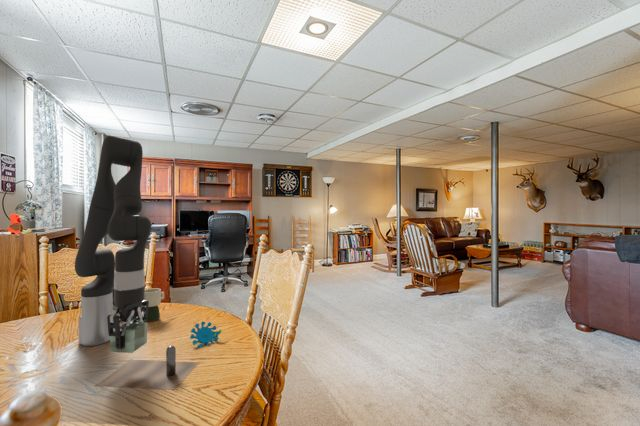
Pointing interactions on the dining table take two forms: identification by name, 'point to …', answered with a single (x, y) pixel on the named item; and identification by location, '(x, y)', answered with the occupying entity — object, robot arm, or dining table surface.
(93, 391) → the dining table surface
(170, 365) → the metal post
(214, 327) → the gear
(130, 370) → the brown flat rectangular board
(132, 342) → the pale green open box
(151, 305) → the character mug
